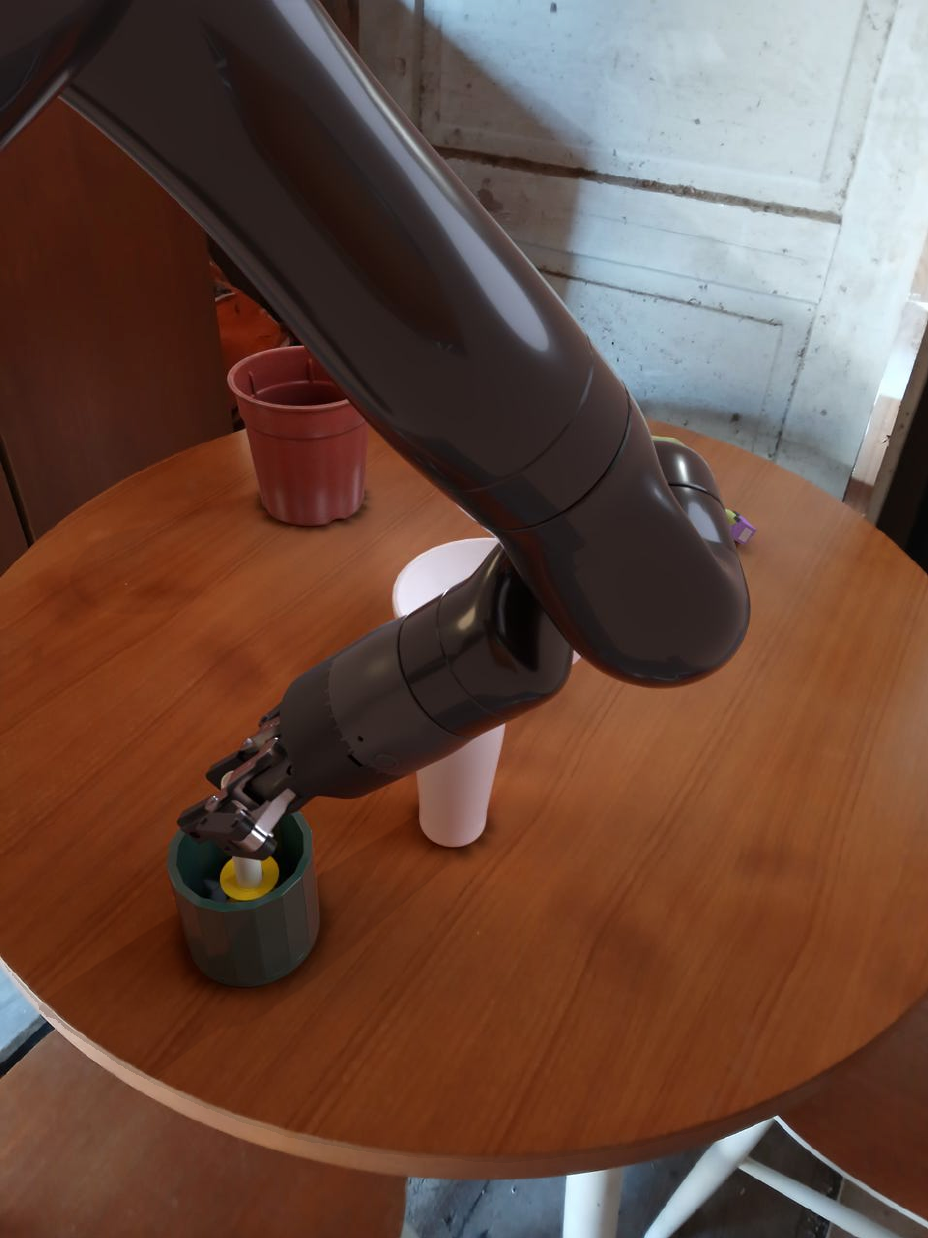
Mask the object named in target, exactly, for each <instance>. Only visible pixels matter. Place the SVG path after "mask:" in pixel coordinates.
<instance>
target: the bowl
mask: <svg viewBox="0 0 928 1238" xmlns="http://www.w3.org/2000/svg"><path fill="white" fill-rule="evenodd" d="M498 543H499V542H498V540H497V539H496V538H495V537H475V538H465V539H461V540H460V539H459V540H455V541H449V542H447V543H443V544H440V545H437V546H435V547H432V548H430V549H428V550H426V551H424V552H423V553H421V554H419V555H417V556H416V557H415V558H414V559H412V560H411V561H410V562H408V563H407V564H406V565H405V566H404V568H403V569H402V570H401V571H400V572H399V573H398V575H397V578H396V580H395V582H394V584H393V586H392V595H391V604H392V605H391V606H392V611H393V612H392V613H393V618H394V619H397V618H399V617H402V616H404V615H406V614H408V613H410V612H412V611H414V610H416V609H417V608H419V607H420V606H422V605H424V604H425V603H427V602H428V601H430V600H432V599H433V598H435V597H437V596H438V595H440V594H441V593H443V592H445V591H446V590H448V589H450V588H451V587H452V586H454V585H456V584H458V583H460V582H462V581H463V580H465V579H467V578H468V577H469V576H470V575H472V574H473V573H474V571H475V570H476V569H477V568H478V567H479V566H480V564H481V563H482V562H483V561H484V559H485V558H486V557H487V555H488V554H489V553H490V552H491V551H492V549H493V548H494V547H495V546H496V545H497V544H498ZM580 659H581V657H580V655H579V654H578V653H577V652H576V651H575V650H574V656H573V664H572V666H573V665H574V664H576V663H577V662H578V661H579V660H580Z"/></svg>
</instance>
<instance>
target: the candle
mask: <svg viewBox="0 0 928 1238" xmlns="http://www.w3.org/2000/svg"><path fill="white" fill-rule="evenodd" d="M232 773H233V771H231V772H229V773H227V774H226V775H225V776H224V777H223V779H222V781H221V789H223V788H224V787H226V785H227V783H228V781H229V779H230V777H231V775H232ZM231 802H233V803H234V804H235V805H236V806H237V807H239V808H240V807H242V808H243V809H245V810H247V808H246V807H245V806H243V805H242V804H241V803H240V802H238V801H236V800H232V801H231ZM232 857H233V858H232V859H231V860H230V861H229V862H227V864H226V865H225V866H224V868H223V869H222V872H221V875H220V884H221V888H222V889H223V891H224V892H225V894H227V895H228V896H229V897H230V899H229V900H228V901H227V902H226V904H227V903H237V902H247V901H253V900H255V899H257V898H259V897H262V896H264V895H266V894H268V893H271V892H273V891H275V890H277V888H275V887H274V886H275V885H276V883H277V881H278V878H279V868H278V865H277V863H276V862H275V860H274V859H273V858H272V857H271V856H270V857H268V858H267V859H266V860H264V861H260V860H253V859H247V858H240V857H234V856H232Z"/></svg>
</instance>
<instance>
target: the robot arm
mask: <svg viewBox="0 0 928 1238" xmlns="http://www.w3.org/2000/svg"><path fill="white" fill-rule="evenodd" d="M57 98H58V99H59V100H61V101H62V102H64V103H65V104H66V105H67V106H69V107H70V108H71V109H73V111H75V112H76V113H78V114H79V115H80V116H81V117H82V118H84V119H85V120H86V121H87V122H89V124H91V125H92V126H93V127H95V128H96V129H97V130H98V131H100V132H101V133H102V134H103V135H104V136H105V137H106V138H108V140H109V141H111V142H112V143H113V144H114V145H116V146H117V147H118V148H119V149H120V150H121V151H122V152H124V153H125V154H126V155H127V156H128V157H129V158H130V159H131V160H132V161H133V162H134V163H136V164H137V165H138V166H139V167H140V168H141V169H142V170H143V171H144V172H145V173H147V175H149V176H150V177H151V178H152V179H153V180H154V181H155V182H156V183H157V184H159V186H160V187H161V188H162V189H163V190H164V191H165V192H166V193H167V194H168V195H169V196H170V197H171V198H173V200H175V202H176V203H178V205H179V206H180V207H181V208H182V209H183V210H184V211H185V212H186V213H187V214H188V215H189V216H190V217H191V218H192V219H193V220H194V221H195V222H196V224H198V226H199V227H200V228H202V230H203V231H204V232H205V233H206V234H207V235H208V236H209V237H210V238H211V239H212V240H213V241H214V242H215V244H217V245H218V247H219V248H220V249H221V251H223V252H224V253H225V255H226V256H227V257H228V258H229V259H230V261H232V263H233V264H234V265H235V266H236V267H237V268H238V270H239V271H240V272H241V273H242V274H243V275H244V276H245V277H246V279H247V280H248V281H249V282H250V283H251V285H252V286H254V288H255V289H256V290H257V292H258V293H259V294H260V296H262V297H263V299H264V300H265V301H266V303H267V304H268V305H269V306H270V307H271V308H272V310H273V311H274V312H275V313H276V314H277V316H278V318H280V319H281V321H282V322H283V323H284V324H285V325H286V327H287V328H288V329H289V331H291V333H292V334H293V335H294V337H295V338H296V339H297V340H298V341H299V342H300V344H301V346H304V347H305V349H306V350H307V351H308V353H309V354H310V355H311V356H312V358H313V359H314V360H315V361H316V363H317V364H318V365H319V366H320V368H321V369H322V370H323V371H324V373H325V374H326V375H327V376H328V378H329V379H330V380H331V381H332V382H333V384H334V385H335V386H336V387H337V388H338V390H339V391H340V392H341V393H342V394H343V396H344V397H345V398H346V399H347V400H348V401H349V403H350V404H351V405H352V406H353V407H354V408H355V409H356V411H357V412H358V413H359V414H360V415H361V416H362V417H363V418H364V419H365V421H366V422H367V423H368V424H369V427H370V428H372V429H373V430H374V432H375V433H376V434H377V435H378V436H379V437H380V438H381V439H382V440H383V441H384V442H385V443H386V444H387V445H388V446H389V447H390V448H392V450H393V451H395V452H396V454H397V455H398V456H400V457H401V458H402V459H403V460H404V462H406V463H407V464H408V465H409V466H410V467H412V468H413V470H415V471H416V472H417V473H418V474H419V475H420V476H421V477H423V478H424V479H425V480H426V481H428V483H429V484H431V485H432V486H433V487H434V488H435V489H437V491H439V492H440V493H441V494H443V496H444V497H445V498H447V499H449V501H451V502H452V504H454V505H455V506H456V507H457V508H459V510H461V511H462V512H463V513H464V514H465V515H467V516H468V517H469V518H470V519H471V520H473V521H474V522H475V523H476V524H478V525H479V526H480V527H481V528H483V529H484V530H485V531H486V532H488V533H489V534H491V536H493V538H496V539H497V540H498V542H499V543H498V544H497V545H496V546H495V547H494V548H493V549H492V551H491V552H490V553H489V554H488V555H487V557H486V558H485V559H484V561H483V562H482V563H481V564H480V566H479V567H478V568H477V569H476V570H475V571H474V573H473V574H472V575H470V576H469V577H468V578H467V579H465V580H463V581H462V582H460V583H458V584H456V585H454V586H452V587H451V588H450V589H448V590H446V591H445V592H443V593H441V594H440V595H438V596H437V597H435V598H433V599H432V600H430V601H428V602H427V603H425V604H424V605H422V606H420V607H419V608H417V609H416V610H414V611H412V612H410V613H408V614H406V615H404V616H402V617H399V618H397V619H395V618H394V619H392V620H389V621H387V622H384V623H383V624H381V625H378V626H377V627H375V628H374V629H372V630H370V631H368V632H367V633H365V634H364V635H362V636H360V637H358V638H357V639H355V640H354V641H353V642H351V643H349V644H347V645H346V646H344V647H342V648H341V649H339V650H338V651H336V652H335V653H333V654H332V655H330V656H328V657H327V658H326V659H324V660H322V661H320V662H319V663H317V664H316V665H314V666H312V667H311V668H309V669H308V670H306V671H304V672H303V673H301V674H300V675H298V676H297V677H296V678H295V679H293V680H292V681H291V682H290V684H289V685H288V687H287V688H286V690H285V692H284V694H283V697H282V700H281V701H280V702H279V703H277V705H275V706H274V707H273V708H272V709H271V710H270V711H268V712H267V713H266V714H264V715H263V716H262V717H261V718H260V719H259V722H258V724H257V726H258V728H259V729H258V730H257V731H256V733H254V734H252V735H250V736H249V737H246V738H245V739H244V740H243V741H242V743H241V746H240V748H239V749H237V750H236V751H234V752H232V753H230V755H227V756H225V757H223V758H222V759H220V760H219V761H217V762H216V763H215V762H214V763H213V764H212V765H210V767H209V769H208V770H207V772H206V773H205V775H204V776H205V779H206V780H207V782H209V783H210V784H211V785H213V786H214V787H215V788H216V789H217V790H219V791H217V792H216V793H214V794H211V795H209V796H208V797H206V798H204V799H202V800H201V801H198V802H197V803H195V804H193V805H192V806H190V807H188V808H186V809H184V810H183V811H181V813H180V815H179V817H178V818H177V820H176V824H177V826H178V828H181V829H180V830H181V831H182V832H184V833H185V834H186V835H187V836H189V837H190V838H191V839H193V840H194V841H195V842H196V843H198V844H201V843H203V842H205V841H207V840H209V839H210V840H211V841H213V842H214V843H215V844H216V845H218V846H219V847H220V848H221V849H222V851H224V852H225V853H226V854H227V855H229V856H234V857H240V858H247V859H253V860H260V861H264V860H266V859H267V858H268V857H270V856H271V855H272V854H273V852H274V850H275V849H276V847H277V842H276V841H275V840H274V839H273V835H274V834H273V833H272V832H271V830H272V829H273V827H274V826H275V825H276V823H277V822H278V821H279V819H280V818H281V816H282V815H283V814H292V813H295V812H297V811H298V810H299V811H300V810H301V809H302V808H304V807H305V806H306V805H307V804H308V803H309V802H311V801H312V800H314V799H315V798H318V797H322V798H332V799H342V800H355V799H360V798H364V797H366V796H367V795H370V794H372V793H374V792H376V791H378V790H380V789H383V788H384V787H386V786H388V785H392V784H393V783H395V782H397V781H400V780H402V779H404V778H406V777H408V776H410V775H412V774H415V773H416V771H418V770H421V769H423V768H425V767H427V766H429V765H431V764H433V763H436V762H438V761H440V760H442V759H444V758H446V757H448V756H449V755H451V754H453V753H454V752H456V751H458V750H459V749H461V748H462V747H463V746H465V745H466V744H468V743H469V742H470V741H472V740H473V739H475V738H477V737H479V736H480V735H482V734H484V733H486V732H488V731H490V730H492V729H494V728H496V727H499V726H501V725H503V724H505V723H506V724H507V723H509V722H511V721H514V720H515V719H517V718H520V717H523V716H525V715H526V714H529V713H531V712H533V711H535V710H537V709H539V708H541V707H543V706H544V705H546V704H547V703H549V702H551V701H552V700H553V699H555V698H556V697H557V696H558V695H559V694H560V692H562V691H563V689H564V688H565V687H566V686H567V684H568V681H569V678H570V677H571V672H572V669H573V665H574V664H573V656H574V650H575V651H576V652H577V653H578V654H579V655H580V658H581V659H582V660H583V661H585V662H586V663H587V664H589V665H590V666H591V667H592V668H594V669H596V670H597V671H599V672H600V673H601V674H604V675H605V676H607V677H609V678H611V679H613V680H615V681H619V682H621V683H624V684H627V685H631V686H635V687H639V688H645V689H652V690H653V689H654V690H671V689H679V688H682V687H687V686H691V685H694V684H696V683H699V682H702V681H703V680H705V679H708V678H709V677H711V676H714V674H716V673H718V672H719V671H720V670H722V669H723V668H724V667H726V665H727V664H728V663H729V662H730V661H731V660H732V659H733V658H734V657H735V655H736V653H737V652H738V650H739V649H740V648H741V646H742V644H743V643H744V641H745V639H746V635H747V633H748V630H749V626H750V622H751V613H752V611H751V609H752V605H751V596H750V595H751V594H750V590H749V586H748V581H747V579H746V576H745V572H744V569H743V568H744V567H743V566H742V565H743V564H742V562H741V559H740V556H739V553H738V549H737V545H736V542H735V540H734V538H733V535H732V532H731V528H730V525H729V521H728V518H727V515H726V512H725V509H726V508H725V504H724V502H723V498H722V493H721V491H720V489H719V486H718V482H717V479H716V477H715V475H714V473H713V471H712V469H711V467H710V466H709V464H708V463H707V462H706V460H705V459H704V458H703V457H702V456H701V455H700V454H698V452H696V451H695V450H694V449H692V448H691V447H689V446H687V445H685V444H684V445H682V444H679V443H676V442H673V441H669V440H661V439H652V436H653V435H652V434H651V430H650V428H649V425H648V423H647V421H646V419H645V416H644V414H643V411H642V410H641V408H640V405H638V402H637V401H636V399H635V397H634V395H633V394H632V392H631V391H630V389H629V388H628V386H627V385H626V384H625V381H623V380H622V378H621V377H620V375H619V374H618V373H617V371H616V370H615V369H614V367H613V366H612V364H611V363H610V362H609V360H608V359H607V358H606V356H605V355H604V354H603V352H602V351H601V349H600V348H599V347H598V346H597V344H596V343H595V342H594V340H593V339H592V338H591V336H590V335H589V334H588V332H587V331H586V330H585V328H584V326H582V324H581V323H580V321H578V319H577V317H576V316H575V315H574V314H573V312H572V311H571V310H570V308H569V307H568V306H567V305H566V303H565V302H564V301H563V300H562V298H561V297H560V295H559V294H558V293H557V292H556V291H555V290H554V288H553V287H552V286H551V284H549V282H548V280H547V279H545V277H544V276H543V275H542V274H541V273H540V271H539V270H538V269H537V268H536V266H535V265H534V264H533V263H532V262H531V260H530V259H529V258H528V257H527V256H526V255H525V253H524V252H523V251H522V250H521V248H519V246H518V245H517V244H516V243H515V242H514V240H513V239H512V238H511V237H510V236H509V235H508V234H507V231H505V230H504V229H503V228H502V226H500V224H499V223H498V222H497V221H496V220H495V218H494V217H493V216H492V215H491V214H490V212H488V210H487V209H486V208H485V207H484V206H483V205H482V203H481V202H480V201H479V200H478V198H477V197H476V196H475V195H474V194H473V193H472V192H471V190H469V188H468V187H467V186H466V184H464V182H463V181H462V180H461V179H460V178H459V177H458V176H457V174H456V172H455V171H453V170H452V168H451V167H450V166H449V165H448V164H447V163H446V161H445V160H444V159H443V158H442V157H441V155H440V154H439V153H438V152H437V150H435V148H434V147H433V146H432V145H431V143H430V142H429V141H428V140H427V138H426V137H424V135H423V134H422V133H421V132H420V130H419V129H418V128H417V127H416V126H415V124H413V122H412V121H411V120H410V118H408V116H407V115H406V113H405V112H404V111H403V110H402V108H401V107H400V106H399V105H398V104H397V102H396V101H395V100H394V99H393V98H392V96H391V95H390V94H389V92H387V90H386V89H385V88H384V86H383V84H381V83H380V81H379V80H378V79H377V78H376V76H375V75H374V74H373V72H372V71H371V70H370V68H369V66H367V64H366V63H365V61H364V60H363V59H362V58H361V57H360V55H359V54H358V52H357V51H356V50H355V48H354V46H352V44H351V43H350V42H349V40H348V39H347V38H346V36H345V35H344V34H343V32H342V31H341V30H340V28H339V27H338V25H337V24H336V23H335V22H334V20H333V18H332V16H331V15H330V14H329V13H328V11H327V10H326V8H325V7H324V6H323V4H322V3H321V1H320V0H0V157H1V156H2V155H3V154H4V153H5V152H6V151H7V150H8V148H10V147H11V146H12V144H13V143H15V141H17V139H18V138H19V137H21V135H23V133H24V132H25V131H26V130H27V129H28V128H29V127H30V126H31V125H32V124H33V123H34V122H35V121H36V120H37V119H38V118H39V117H40V116H41V115H42V114H43V113H44V112H45V111H46V110H47V108H48V107H50V105H51V104H52V103H54V101H55V100H56V99H57ZM572 664H573V665H572ZM231 771H233V773H232V775H231V777H230V779H229V781H228V783H227V785H226V787H224V788H223V789H221V781H222V779H223V777H224V776H225V775H226V774H227V773H229V772H231ZM232 800H236V801H238V802H240V803H241V804H242V805H243V806H245V807H246V808H247V810H245V809H243V808H242V807H240V808H239V807H237V806H236V805H235V804H234V803H233V802H231V801H232Z"/></svg>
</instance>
